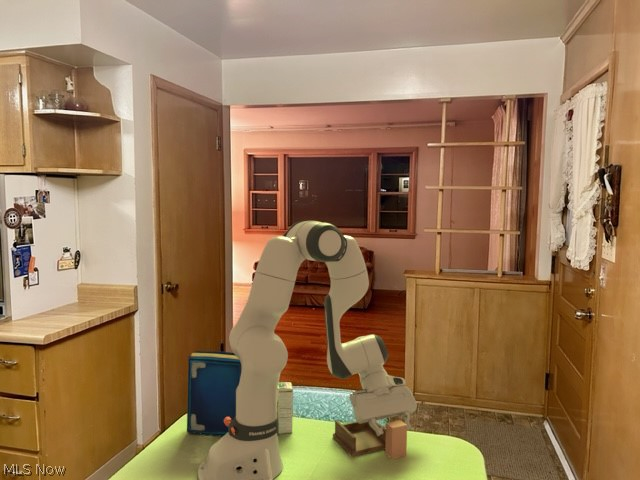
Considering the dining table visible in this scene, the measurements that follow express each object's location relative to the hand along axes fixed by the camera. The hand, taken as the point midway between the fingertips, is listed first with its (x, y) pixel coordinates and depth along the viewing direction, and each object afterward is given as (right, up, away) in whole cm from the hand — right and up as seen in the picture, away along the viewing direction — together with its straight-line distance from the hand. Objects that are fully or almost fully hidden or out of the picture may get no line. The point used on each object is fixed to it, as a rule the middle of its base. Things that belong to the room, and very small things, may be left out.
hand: (394, 431), depth 130 cm
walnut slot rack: (-9, -6, +6) cm, 12 cm away
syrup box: (-34, -5, +14) cm, 37 cm away
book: (-52, -5, +12) cm, 54 cm away
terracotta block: (0, -6, -1) cm, 6 cm away
